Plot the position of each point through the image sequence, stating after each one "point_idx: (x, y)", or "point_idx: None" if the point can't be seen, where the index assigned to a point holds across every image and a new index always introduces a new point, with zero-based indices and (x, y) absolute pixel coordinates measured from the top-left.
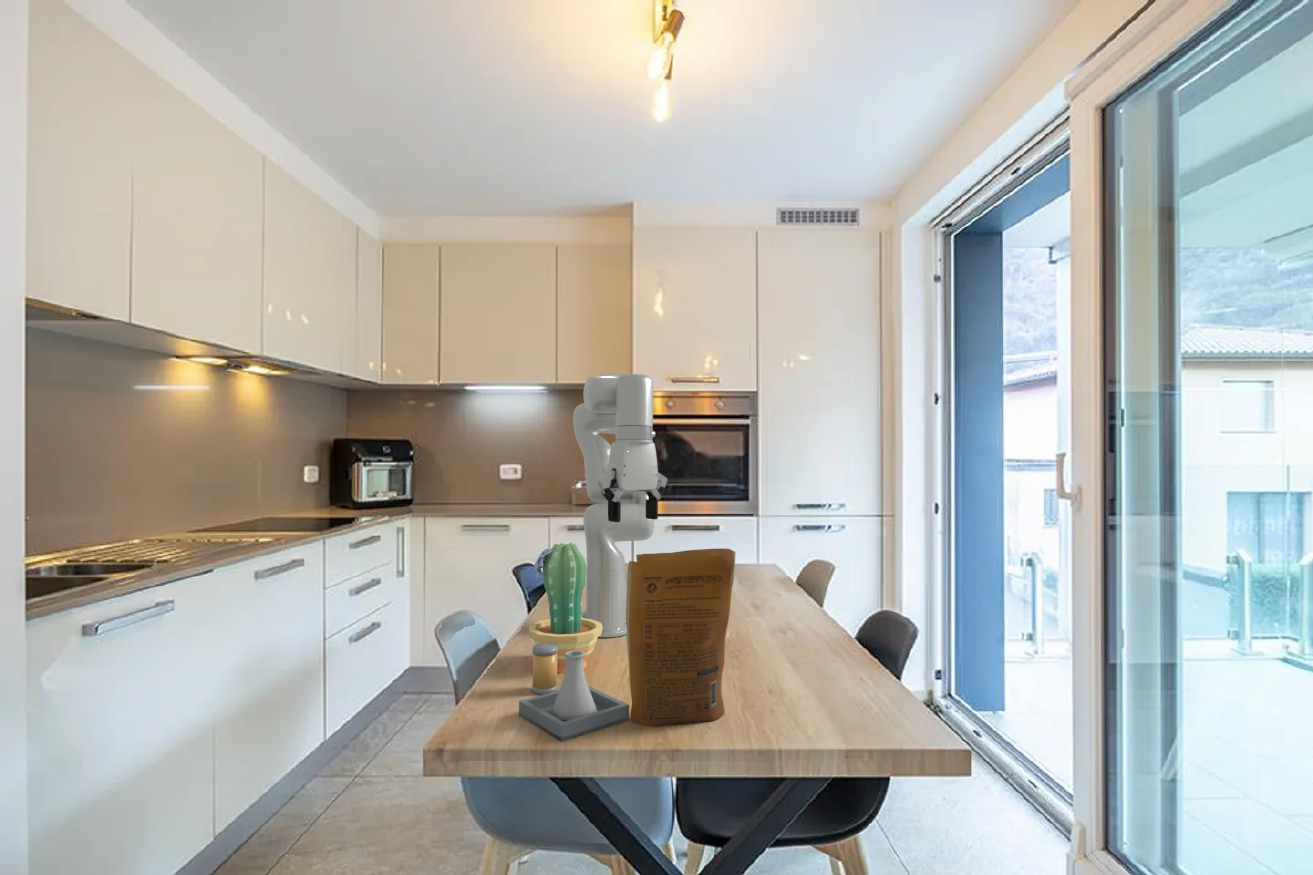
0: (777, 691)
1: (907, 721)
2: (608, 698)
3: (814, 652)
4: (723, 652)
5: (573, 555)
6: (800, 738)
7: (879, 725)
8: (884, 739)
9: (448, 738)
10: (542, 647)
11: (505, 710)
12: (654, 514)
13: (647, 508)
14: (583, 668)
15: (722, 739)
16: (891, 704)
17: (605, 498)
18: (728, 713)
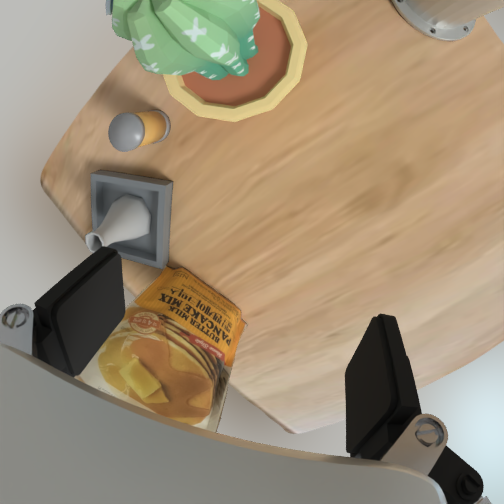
0: (337, 339)
1: (325, 416)
2: (157, 241)
3: (485, 317)
4: (228, 369)
5: (155, 46)
6: (245, 379)
7: (306, 407)
8: (282, 411)
9: (48, 168)
10: (119, 132)
11: (97, 147)
12: (345, 387)
13: (376, 368)
14: (112, 242)
15: None
16: None
17: (5, 311)
18: (250, 326)
